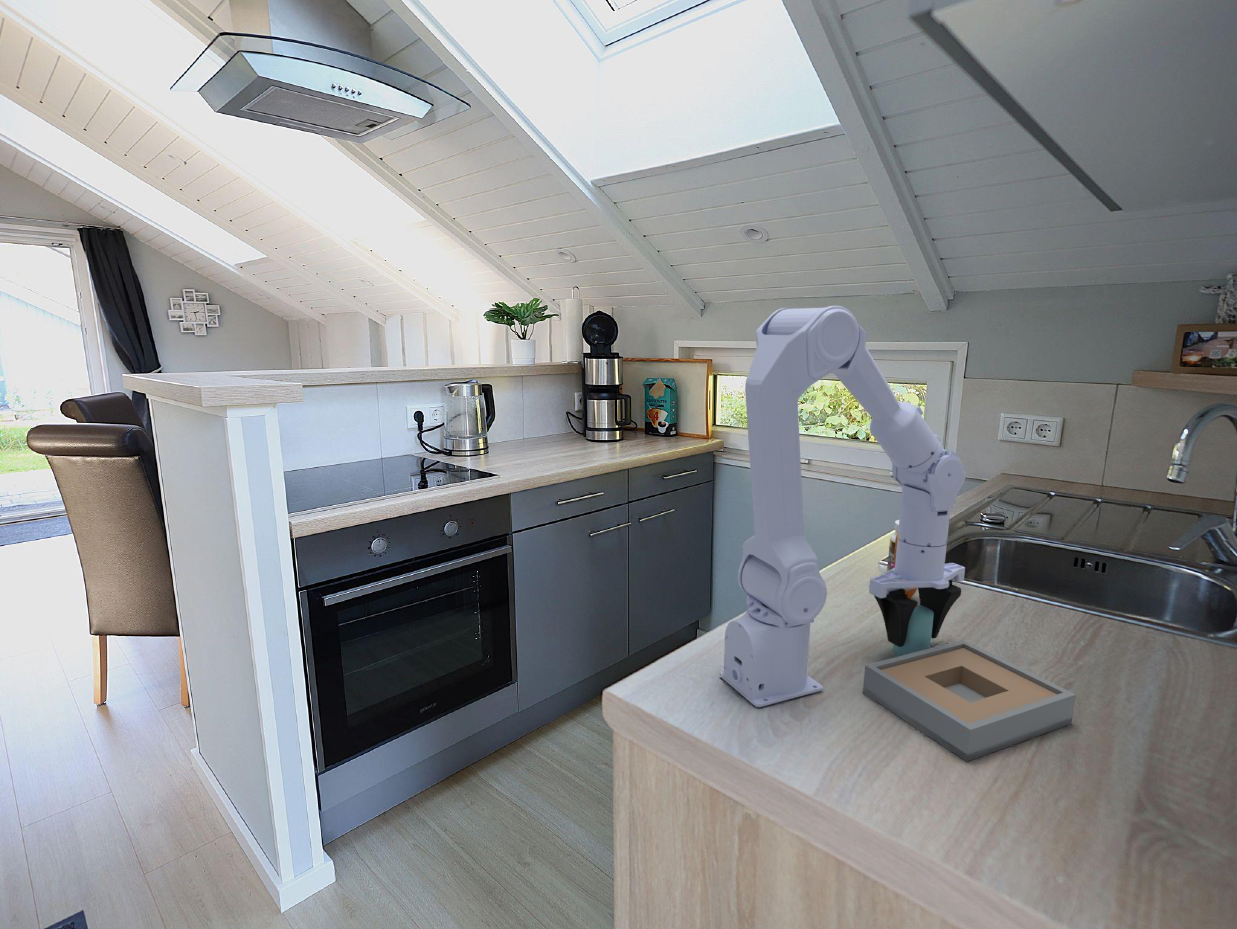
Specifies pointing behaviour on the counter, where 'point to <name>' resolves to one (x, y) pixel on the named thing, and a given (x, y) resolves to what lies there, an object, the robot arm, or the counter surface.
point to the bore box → (968, 698)
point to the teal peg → (917, 632)
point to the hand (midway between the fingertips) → (912, 639)
